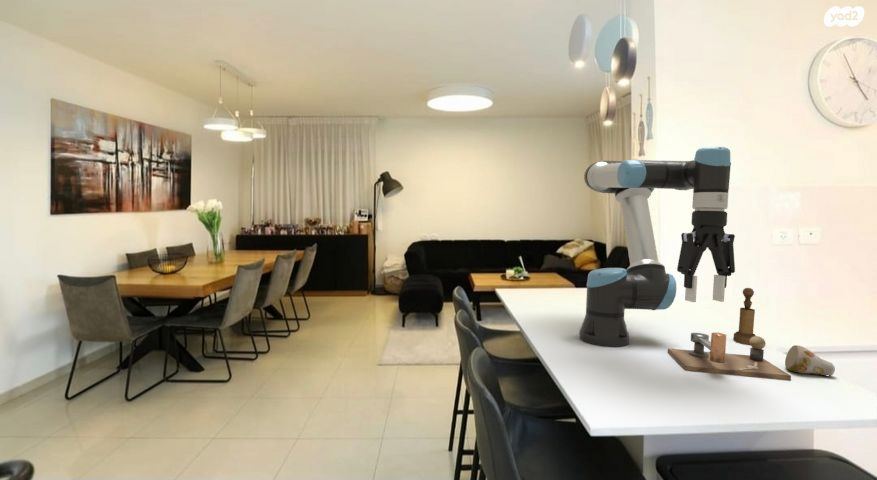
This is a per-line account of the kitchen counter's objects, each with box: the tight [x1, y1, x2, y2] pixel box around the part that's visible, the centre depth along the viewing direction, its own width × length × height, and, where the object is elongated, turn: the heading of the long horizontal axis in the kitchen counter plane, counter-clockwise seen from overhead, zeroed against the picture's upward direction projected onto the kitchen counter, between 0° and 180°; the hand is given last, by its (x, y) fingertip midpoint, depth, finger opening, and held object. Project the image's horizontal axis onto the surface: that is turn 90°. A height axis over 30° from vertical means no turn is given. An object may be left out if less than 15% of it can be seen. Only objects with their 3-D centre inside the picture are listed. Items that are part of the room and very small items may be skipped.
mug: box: [784, 344, 836, 376], centre depth 115 cm, size 8×10×10 cm
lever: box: [690, 332, 727, 363], centre depth 118 cm, size 17×4×7 cm, turn 167°
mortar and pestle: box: [732, 287, 757, 345], centre depth 143 cm, size 7×6×18 cm
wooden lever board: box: [667, 335, 792, 381], centre depth 119 cm, size 24×16×8 cm, turn 77°
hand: (704, 300), depth 110 cm, fingers open, 8 cm apart
